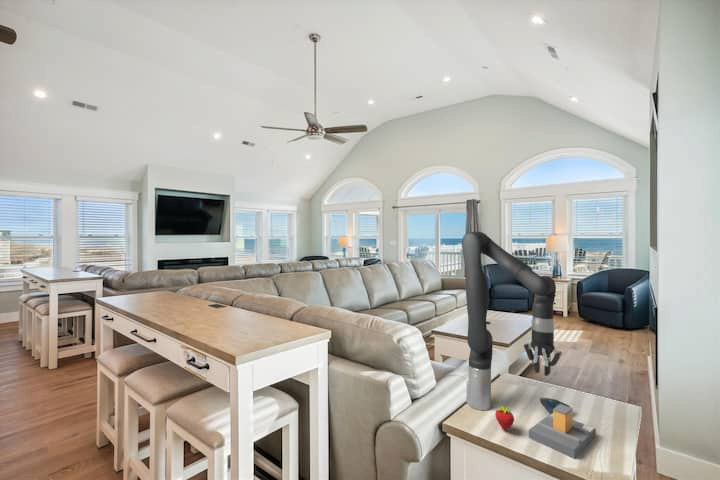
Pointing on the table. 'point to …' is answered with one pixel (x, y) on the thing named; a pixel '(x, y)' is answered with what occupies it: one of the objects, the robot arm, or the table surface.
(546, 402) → the seashell
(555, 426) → the breaker toggle
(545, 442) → the panel
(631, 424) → the table surface
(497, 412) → the strawberry
